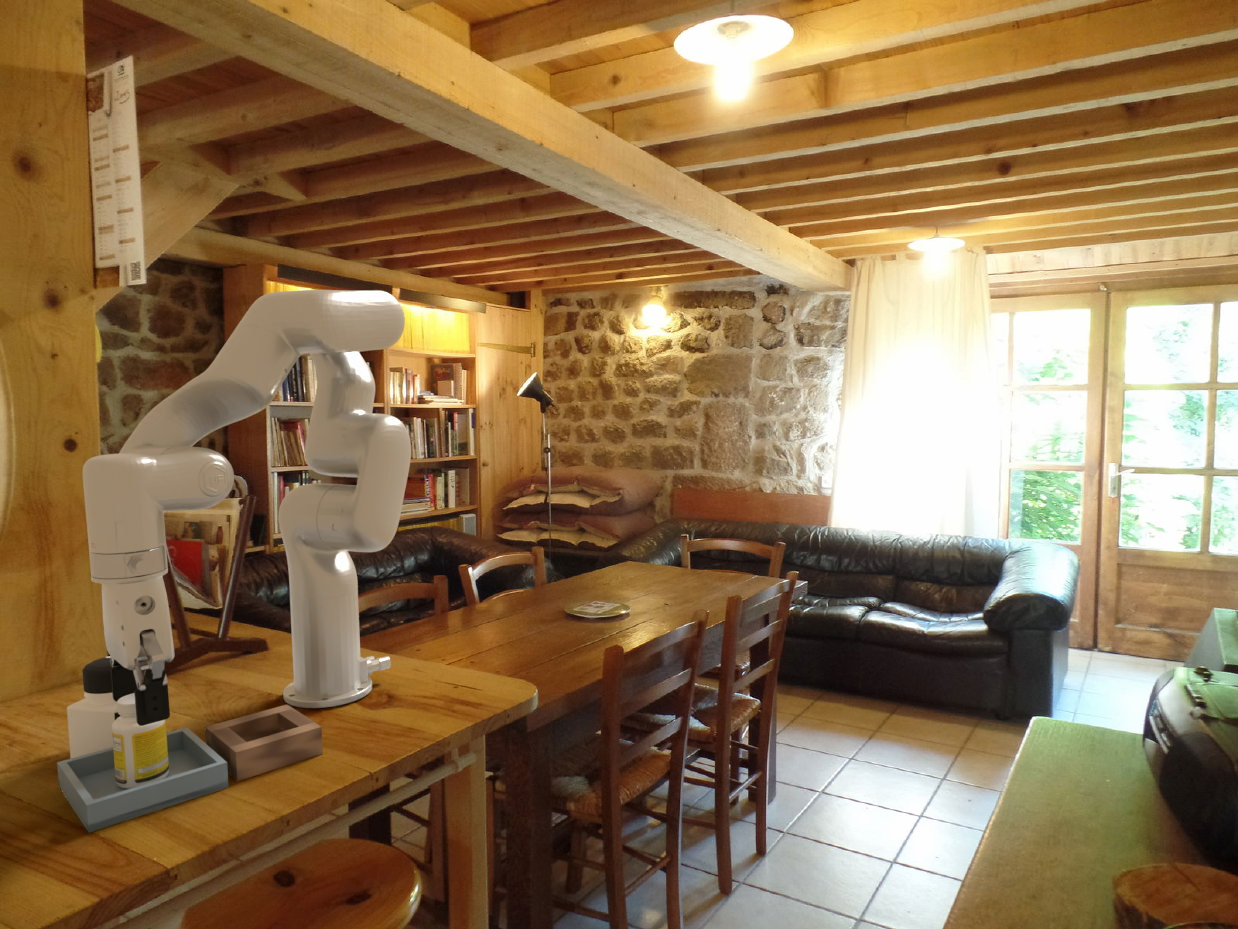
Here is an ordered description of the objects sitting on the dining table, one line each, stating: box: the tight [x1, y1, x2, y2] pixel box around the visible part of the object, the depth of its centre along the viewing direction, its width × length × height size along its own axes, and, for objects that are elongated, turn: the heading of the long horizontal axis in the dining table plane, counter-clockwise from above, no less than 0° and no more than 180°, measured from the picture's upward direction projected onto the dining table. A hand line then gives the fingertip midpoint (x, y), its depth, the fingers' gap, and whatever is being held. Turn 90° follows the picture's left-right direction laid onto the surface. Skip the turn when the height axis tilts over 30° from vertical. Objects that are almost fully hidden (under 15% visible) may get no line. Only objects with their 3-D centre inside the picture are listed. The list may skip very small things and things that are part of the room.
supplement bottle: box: [112, 693, 169, 789], centre depth 97 cm, size 5×5×10 cm
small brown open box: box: [204, 704, 324, 782], centre depth 106 cm, size 10×10×4 cm
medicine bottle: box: [66, 655, 120, 759], centre depth 107 cm, size 7×7×12 cm
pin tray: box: [56, 726, 229, 834], centre depth 98 cm, size 14×14×3 cm
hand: (140, 709), depth 97 cm, fingers open, 9 cm apart
